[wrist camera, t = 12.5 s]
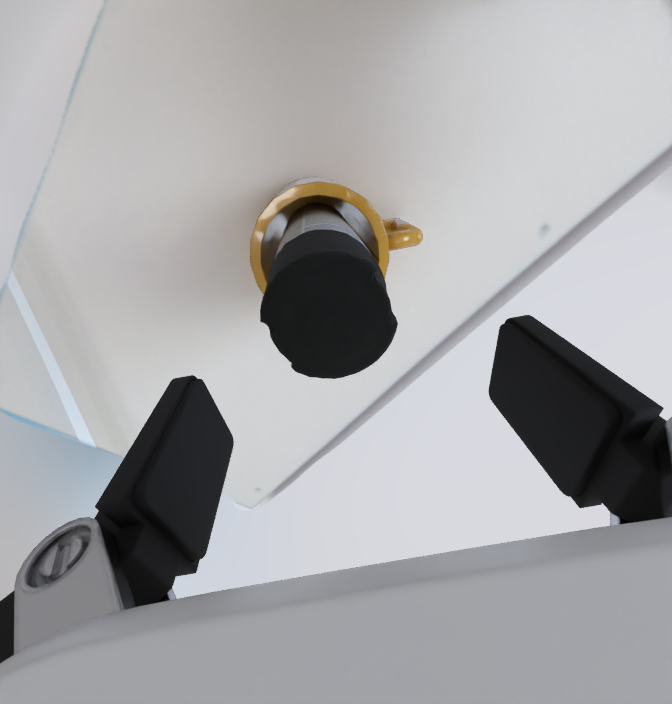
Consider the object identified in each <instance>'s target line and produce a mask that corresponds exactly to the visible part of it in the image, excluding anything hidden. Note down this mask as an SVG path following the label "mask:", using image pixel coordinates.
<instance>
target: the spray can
mask: <svg viewBox="0 0 672 704" xmlns="http://www.w3.org/2000/svg"><path fill="white" fill-rule="evenodd" d="M260 319H261V322H263V323H265V324H267V326H268V327H269V329H270V336H271V338H272V341H273V342H274V344H275V345H276V347H277V348H278V350H279V351H280V353H282V354H283V355H284V356H285V357H286V358H287V359H288V360H289V361H290V362H292V365H291V367H292V368H293V369H294V370H295V371H296V372H298V373H301V374H304V375H306V376H308V377H318V378H332V379H335V378H341V377H345V376H348V375H352V374H355V373H357V372H360V371H361V370H363V369H365V368H367V367H369V366H370V365H372V364H373V363H374V362H376V361H377V360H378V359H379V358H380V357H381V356H382V354H383V353H384V352H385V351H386V350H387V348H388V347H389V345H390V344H391V342H392V340H393V337H394V335H395V332H396V329H397V325H398V323H397V320H396V317H395V316H394V314H393V312H392V310H391V304H390V299H389V297H388V294H387V291H386V284H385V279H384V276H383V273H382V271H381V269H380V267H379V265H378V263H377V262H376V260H375V259H374V257H373V256H372V254H371V253H370V251H369V250H368V249H367V247H366V246H365V245H364V243H363V242H362V241H361V239H360V238H359V237H358V236H357V234H356V233H355V232H354V230H353V229H352V228H351V226H350V225H349V224H348V222H347V221H346V220H345V218H344V217H343V216H342V215H341V213H339V212H338V211H337V210H336V209H335V208H333V207H331V206H329V205H327V204H323V203H310V204H307V205H304V206H302V207H300V208H299V209H297V210H296V211H295V212H294V213H293V214H292V216H291V217H290V218H289V220H288V222H287V224H286V227H285V230H284V233H283V236H282V239H281V242H280V244H279V248H278V251H277V254H276V256H275V259H274V261H273V264H272V268H271V271H270V275H269V278H268V282H267V286H266V289H265V293H264V296H263V300H262V304H261V310H260Z"/></svg>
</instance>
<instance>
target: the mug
mask: <svg viewBox="0 0 672 704" xmlns="http://www.w3.org/2000/svg"><path fill="white" fill-rule="evenodd" d="M310 203H323V204H327V205H329V206H331V207H333V208H335V209H336V210H337V211H338V212H339V213H341V215H342V216H343V217H344V218H345V220H346V221H347V222H348V224H349V225H350V226H351V228H352V229H353V230H354V232H355V233H356V234H357V236H358V237H359V238H360V239H361V241H362V242H363V243H364V245H365V246H366V247H367V249H368V250H369V251H370V253H371V254H372V256H373V257H374V259H375V260H376V262H377V263H378V265H379V267H380V269H381V271H382V273H383V276H384V279H385V275H386V271H387V267H388V263H389V251H391V250H397V249H402V248H407V247H412V246H416V245H418V244H420V243H421V241H422V239H423V234H422V231H421V230H420V229H418V228H416V227H414V226H413V225H411V224H409V223H407V222H405V221H403V220H402V219H400V218H392V219H387V220H382V221H381V218H380V216H379V215H378V213H377V212H376V211H375V210H374V209H373V207H372V206H371V205H370V204H369V203H368V202H367V200H366V199H365V198H363V197H362V196H361V195H359V194H357V193H355V192H354V191H352V190H350V189H349V188H347V187H345V186H343V185H341V184H339V183H337V182H335V181H333V180H330V179H325V178H319V177H310V178H304V179H300V180H296V181H294V182H293V183H291V184H289V185H288V186H286V187H285V188H283V189H282V190H280V192H279V193H278V194H277V195H276V196H275V197H274V198H273V199H272V201H271V202H270V203H269V204H268V206H267V207H266V208H265V209H264V211H263V212H262V213H261V215H260V216H259V217H258V219H257V222H256V225H255V228H254V231H253V234H252V237H251V241H250V263H251V268H252V271H253V274H254V277H255V280H256V283H257V285H258V287H259V288H260V290H261V291H262V293H263V294H264V293H265V289H266V286H267V282H268V278H269V275H270V271H271V268H272V264H273V261H274V259H275V256H276V254H277V251H278V248H279V244H280V242H281V239H282V236H283V233H284V230H285V227H286V224H287V222H288V220H289V218H290V217H291V216H292V214H293V213H294V212H295V211H296V210H297V209H299V208H300V207H302V206H304V205H307V204H310Z"/></svg>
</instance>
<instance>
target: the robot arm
mask: <svg viewBox="0 0 672 704" xmlns="http://www.w3.org/2000/svg"><path fill="white" fill-rule="evenodd" d="M489 396H490V399H491V400H492V402H493V403H494V405H495V406H496V407H497V408H498V410H499V411H500V412H501V414H502V415H503V416H504V418H505V419H506V420H507V422H508V423H509V424H510V425H511V427H512V428H513V429H514V431H515V432H516V433H517V435H518V436H519V437H520V438H521V440H522V441H523V442H524V444H525V445H526V446H527V448H528V449H529V450H530V452H531V453H532V454H533V455H534V457H535V458H536V459H537V461H538V462H539V463H540V465H541V466H542V467H543V468H544V470H545V471H546V472H547V474H548V475H549V476H550V478H551V479H552V480H553V481H554V483H555V484H556V485H557V487H558V488H559V489H560V490H561V491H562V492H563V494H565V495H566V496H571V498H572V499H573V500H574V501H575V502H576V504H577V505H578V506H579V508H584V507H589V506H596V505H601V503H603V504H604V505H605V506H606V507H607V508H608V510H609V511H610V526H606V527H599V528H593V529H588V530H580V531H574V532H568V533H562V534H557V535H550V536H543V537H537V538H531V539H525V540H519V541H513V542H507V543H501V544H494V545H488V546H482V547H476V548H470V549H464V550H458V551H452V552H446V553H440V554H434V555H428V556H422V557H416V558H410V559H404V560H398V561H392V562H386V563H380V564H374V565H368V566H362V567H356V568H350V569H345V570H338V571H332V572H327V573H321V574H315V575H309V576H303V577H298V578H292V579H287V580H280V581H274V582H269V583H263V584H257V585H251V586H246V587H240V588H234V589H228V590H222V591H217V592H211V593H206V594H201V595H196V596H190V597H186V598H180V599H176V597H175V594H174V592H173V589H172V586H173V583H174V580H175V577H176V576H181V575H187V574H193V573H196V571H197V567H198V563H199V560H200V559H202V558H203V557H204V556H205V554H206V551H207V547H208V544H209V540H210V536H211V532H212V528H213V524H214V520H215V516H216V512H217V508H218V504H219V500H220V496H221V492H222V489H223V485H224V481H225V477H226V473H227V469H228V465H229V461H230V457H231V453H232V449H233V436H232V434H231V432H230V430H229V428H228V427H227V425H226V423H225V421H224V419H223V417H222V415H221V413H220V412H219V410H218V408H217V406H216V404H215V402H214V400H213V398H212V396H211V395H210V393H209V391H208V389H207V387H206V385H205V383H204V382H203V380H202V379H197V378H196V377H195V376H193V375H191V376H186V377H180V378H175V379H173V380H172V381H171V382H170V384H169V386H168V387H167V389H166V391H165V392H164V394H163V395H162V397H161V399H160V400H159V402H158V404H157V405H156V407H155V409H154V410H153V412H152V414H151V415H150V417H149V419H148V420H147V422H146V423H145V425H144V427H143V428H142V430H141V432H140V433H139V435H138V437H137V438H136V440H135V442H134V443H133V445H132V446H131V448H130V450H129V451H128V453H127V455H126V456H125V458H124V460H123V461H122V463H121V465H120V466H119V468H118V470H117V471H116V473H115V475H114V476H113V478H112V479H111V481H110V483H109V484H108V486H107V488H106V489H105V491H104V493H103V495H102V496H101V498H100V499H99V501H98V503H97V504H96V506H95V507H96V508H97V509H98V510H99V512H98V514H97V515H96V517H95V518H94V519H93V518H90V517H86V518H78V519H76V520H73V521H70V522H68V523H66V524H65V525H63V526H61V527H59V528H58V529H56V530H55V531H53V532H52V533H51V534H49V535H48V536H47V537H46V538H44V539H43V540H42V541H41V542H40V543H39V544H38V545H37V546H36V547H35V548H34V549H33V551H32V552H31V553H30V554H29V556H28V557H27V558H26V560H25V561H24V562H23V564H22V566H21V568H20V570H19V572H18V574H17V577H16V582H15V590H14V591H13V592H12V593H10V594H9V595H8V596H7V597H5V598H4V599H3V600H1V601H0V704H672V417H671V418H670V419H669V420H667V421H666V420H664V419H663V418H661V417H660V416H659V414H660V413H661V411H662V410H663V407H661V406H660V405H658V404H657V403H656V402H654V401H653V400H651V399H650V398H648V397H647V396H646V395H644V394H643V393H641V392H639V391H638V390H637V389H635V388H634V387H632V386H631V385H630V384H628V383H627V382H625V381H624V380H623V379H621V378H620V377H618V376H617V375H615V374H614V373H612V372H611V371H610V370H608V369H607V368H605V367H604V366H602V365H601V364H600V363H598V362H597V361H595V360H594V359H592V358H591V357H590V356H588V355H587V354H585V353H584V352H582V351H581V350H579V349H578V348H577V347H575V346H574V345H572V344H571V343H569V342H568V341H567V340H565V339H564V338H562V337H561V336H559V335H558V334H556V333H555V332H554V331H552V330H551V329H549V328H548V327H546V326H545V325H544V324H542V323H541V322H539V321H538V320H536V319H535V318H534V317H532V316H530V315H525V316H519V317H514V318H509V319H507V320H506V322H505V324H503V325H501V326H500V329H499V335H498V340H497V346H496V351H495V357H494V363H493V368H492V374H491V380H490V385H489Z"/></svg>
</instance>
